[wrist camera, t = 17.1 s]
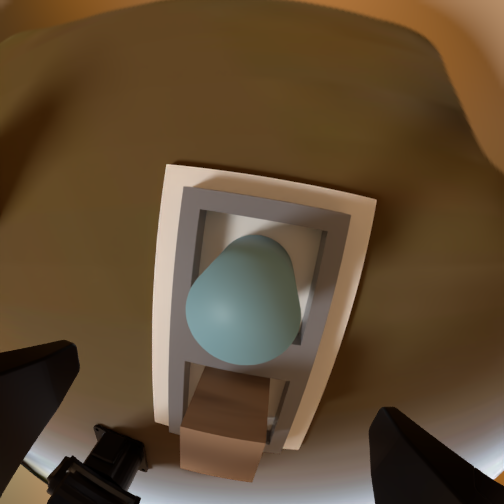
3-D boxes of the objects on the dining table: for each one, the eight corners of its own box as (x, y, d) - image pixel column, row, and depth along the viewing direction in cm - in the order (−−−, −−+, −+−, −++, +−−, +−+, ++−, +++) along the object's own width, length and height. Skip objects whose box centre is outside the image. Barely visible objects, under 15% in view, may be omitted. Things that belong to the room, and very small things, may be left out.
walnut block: (259, 419, 22) (251, 482, 15) (201, 408, 22) (180, 468, 15) (270, 376, 20) (265, 443, 14) (205, 364, 21) (180, 426, 14)
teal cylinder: (285, 313, 19) (287, 372, 12) (213, 300, 20) (182, 352, 13) (299, 242, 18) (312, 271, 11) (222, 228, 18) (191, 250, 12)
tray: (298, 445, 23) (299, 463, 20) (156, 417, 23) (148, 433, 21) (374, 199, 18) (386, 200, 15) (169, 164, 18) (155, 161, 16)
